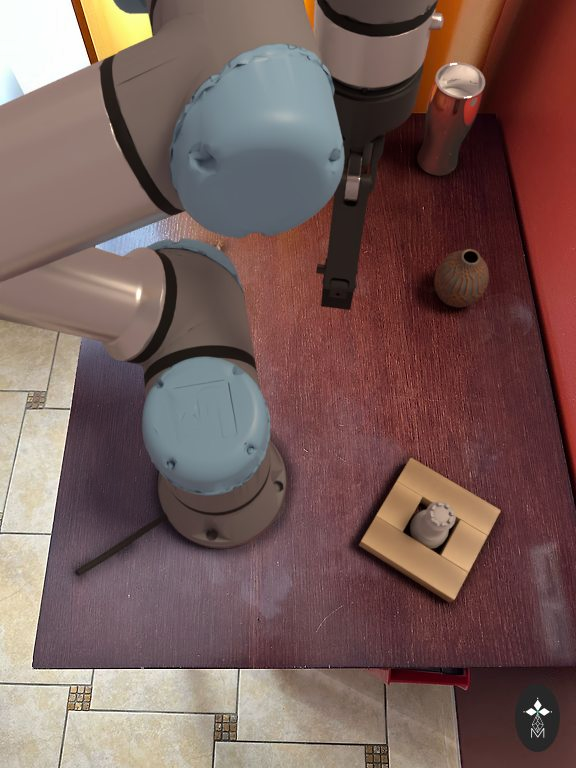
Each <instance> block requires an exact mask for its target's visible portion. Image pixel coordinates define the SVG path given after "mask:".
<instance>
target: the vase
mask: <svg viewBox="0 0 576 768" xmlns="http://www.w3.org/2000/svg"><path fill="white" fill-rule="evenodd" d="M433 278H434V279H433V282H434V284H433V285H434V290H435V293H436V295H437V297H438V298H439V299H440V301H442V302H443V303H444V304H445V305H447V306H449V307H453V308H458V309H459V308H461V309H462V308H466V307H469V306H472V305H473V304H475V303H476V302H478V301H479V299H481V298H482V296H483V295H484V294H485V292H486V290H487V288H488V285H489V280H490V272H489V267H488V264H487V262H486V261H485V260H484V258H483V257H482V256H481V254H480V253H479V252H478V251H477V250H475V249H474V248H473V249H472V248H467V249H463V250H457V251H454V252H452V253H450V254H448V255H447V256H446V257H444V259H442V261H441V262H440V263H439V264H438V266H437V268H436V271H435V274H434V277H433Z"/></svg>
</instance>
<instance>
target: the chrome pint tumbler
mask: <svg viewBox="0 0 576 768" xmlns="http://www.w3.org/2000/svg"><path fill="white" fill-rule="evenodd" d="M485 86H486V78H485V76H484V74H483V72H481V70H480V69H478V67H476V66H475V65H472V64H470V63H466V62H461V61H460V62H459V61H457V62H456V61H455V62H450V63H447V64H444V65H442V66H441V67H440V68H439V69H438V70H437V72H436V73H435V77H434V80H433V83H432V86H431V89H430V92H429V96H428V99H427V104H426V109H425V110H426V111H425V127H424V128H425V129H424V140H423V143H422V144H421V146H420V149H419V151H418V153H417V156H416V161H417V164H418V166H419V168H420V169H421V170H422V171H424V172H425V173H427V174H430V175H432V176H440V177H441V176H446V175H449V174H451V173H452V172H453V171H454V170H455V169H456V168H457V166H458V162H459V152H460V147H461V145H462V143H463V142H464V140H465V138H466V136H467V135H468V133H469V131H470V130H471V128H472V126H473V124H474V122H475V120H476V117H477V115H478V112H479V109H480V106H481V102H482V99H483V93H484V89H485Z"/></svg>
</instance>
